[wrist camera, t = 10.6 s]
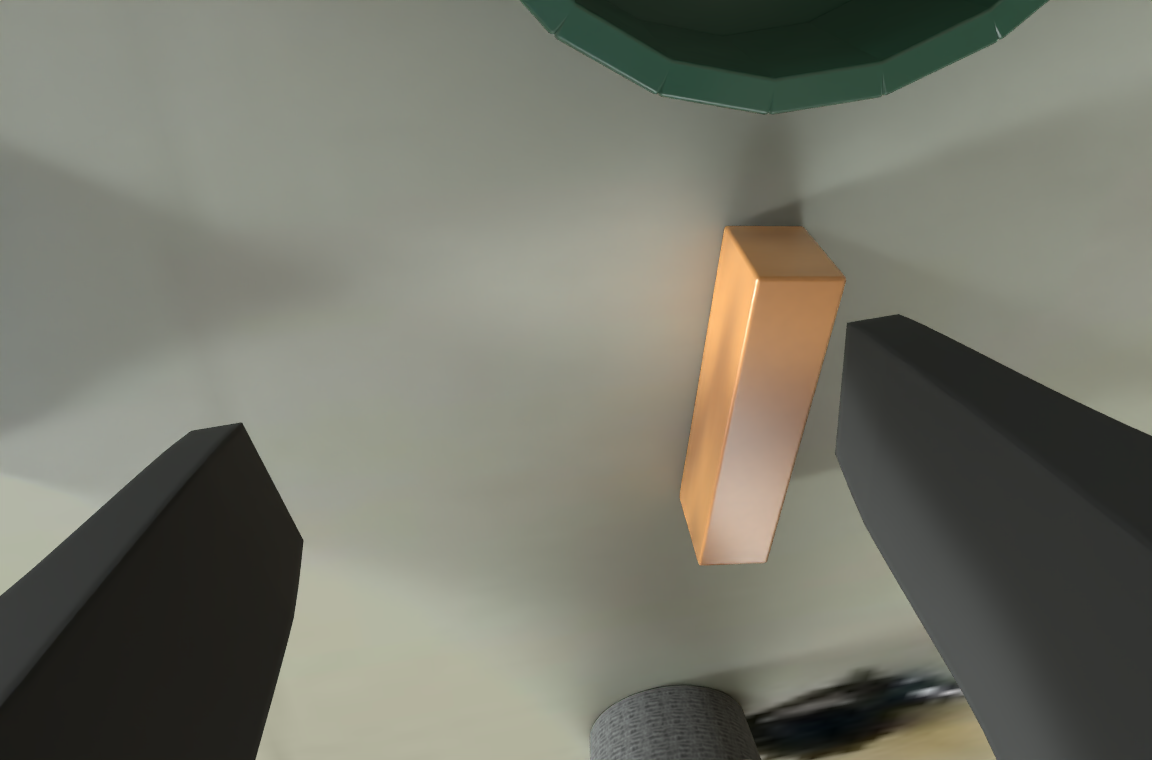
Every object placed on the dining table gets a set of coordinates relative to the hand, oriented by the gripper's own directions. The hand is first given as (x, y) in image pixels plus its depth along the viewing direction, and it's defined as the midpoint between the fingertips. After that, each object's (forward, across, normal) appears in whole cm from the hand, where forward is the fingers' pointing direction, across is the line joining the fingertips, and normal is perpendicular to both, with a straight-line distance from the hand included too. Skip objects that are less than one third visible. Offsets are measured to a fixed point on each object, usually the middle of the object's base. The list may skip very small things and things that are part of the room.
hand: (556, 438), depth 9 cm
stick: (+9, -5, +7) cm, 12 cm away
